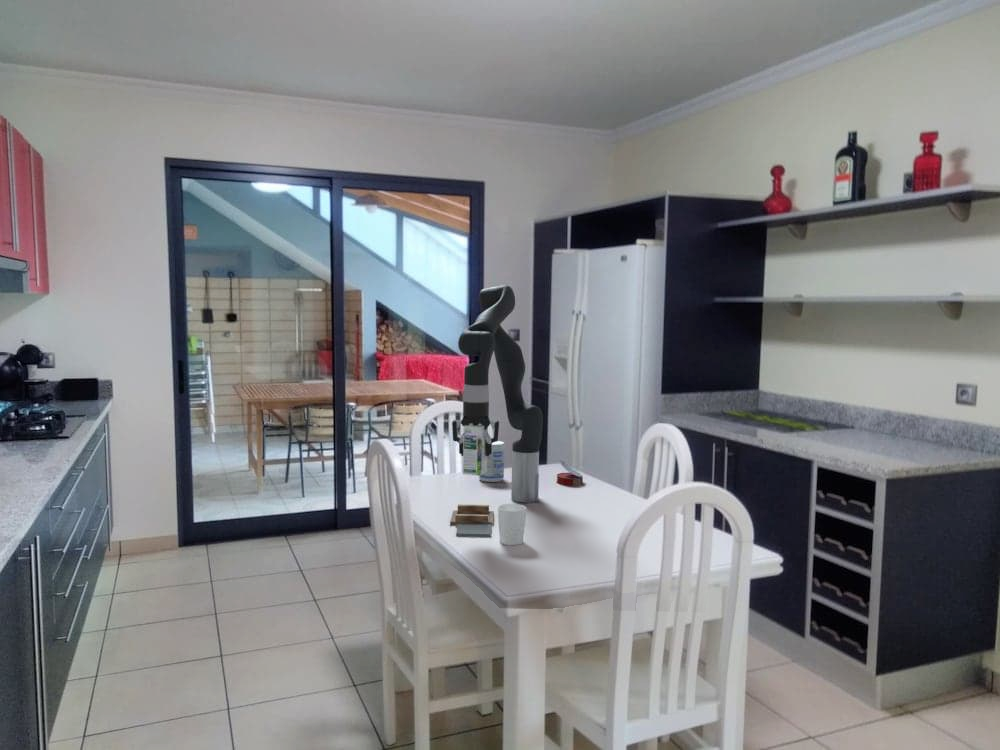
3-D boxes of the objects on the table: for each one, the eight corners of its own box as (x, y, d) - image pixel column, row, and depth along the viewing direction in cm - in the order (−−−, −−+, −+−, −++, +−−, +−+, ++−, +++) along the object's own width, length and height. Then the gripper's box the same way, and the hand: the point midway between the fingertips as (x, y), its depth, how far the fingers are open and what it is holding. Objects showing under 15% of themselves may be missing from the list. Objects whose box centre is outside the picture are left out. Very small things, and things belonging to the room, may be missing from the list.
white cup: (498, 537, 211) (498, 503, 210) (525, 537, 210) (526, 504, 209) (497, 545, 203) (497, 510, 202) (525, 546, 202) (526, 511, 202)
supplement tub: (497, 484, 274) (498, 445, 273) (474, 481, 278) (475, 443, 276) (507, 478, 283) (508, 441, 281) (485, 476, 287) (486, 439, 285)
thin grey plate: (491, 526, 220) (491, 523, 220) (490, 536, 210) (490, 534, 210) (458, 525, 220) (458, 523, 220) (456, 536, 211) (456, 533, 210)
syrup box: (462, 474, 212) (462, 425, 211) (469, 470, 218) (470, 422, 216) (480, 476, 210) (480, 426, 209) (487, 472, 216) (488, 423, 214)
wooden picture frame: (493, 514, 234) (493, 505, 233) (492, 525, 221) (493, 516, 221) (453, 513, 234) (453, 504, 233) (450, 524, 221) (450, 515, 221)
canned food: (565, 491, 284) (572, 467, 287) (585, 493, 276) (591, 469, 279) (547, 481, 277) (554, 457, 280) (566, 483, 269) (573, 458, 272)
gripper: (500, 398, 216) (499, 453, 217) (452, 397, 216) (451, 452, 217) (500, 401, 208) (499, 458, 210) (450, 400, 208) (449, 457, 210)
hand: (475, 455), depth 214 cm, fingers closed on syrup box, 7 cm apart
